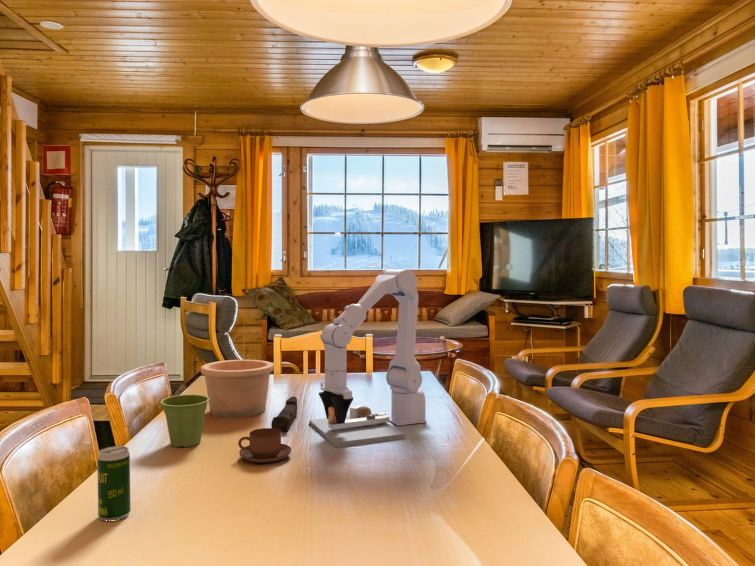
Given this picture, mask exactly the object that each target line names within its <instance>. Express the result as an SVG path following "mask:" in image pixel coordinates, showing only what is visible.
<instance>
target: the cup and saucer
mask: <svg viewBox="0 0 755 566" xmlns="http://www.w3.org/2000/svg"><path fill="white" fill-rule="evenodd" d="M248 434H249V435H248V436H243V437H240V438H239V439H238V443H237V444H238V447H239V448H240V450H239V452H238V453H239V456H240V458H242V459H244V460H245V461H247V462H251V463H258V464H262V463H263V464H265V463H273V462H277V461H281V460H283V459H285V458H287V457H288V456H289V455H290V454H291V452H292V447H291V446H289V445H288V444H285V443H282V433H281V431H280V430H278V429H274V428H272V427H266V428H265V427H262V428H257V429H253V430H251V431H250V432H249V433H248ZM244 440H245V441H246V440H247V441H249V445H246V446H243V445H242V442H243V441H244Z"/></svg>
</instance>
